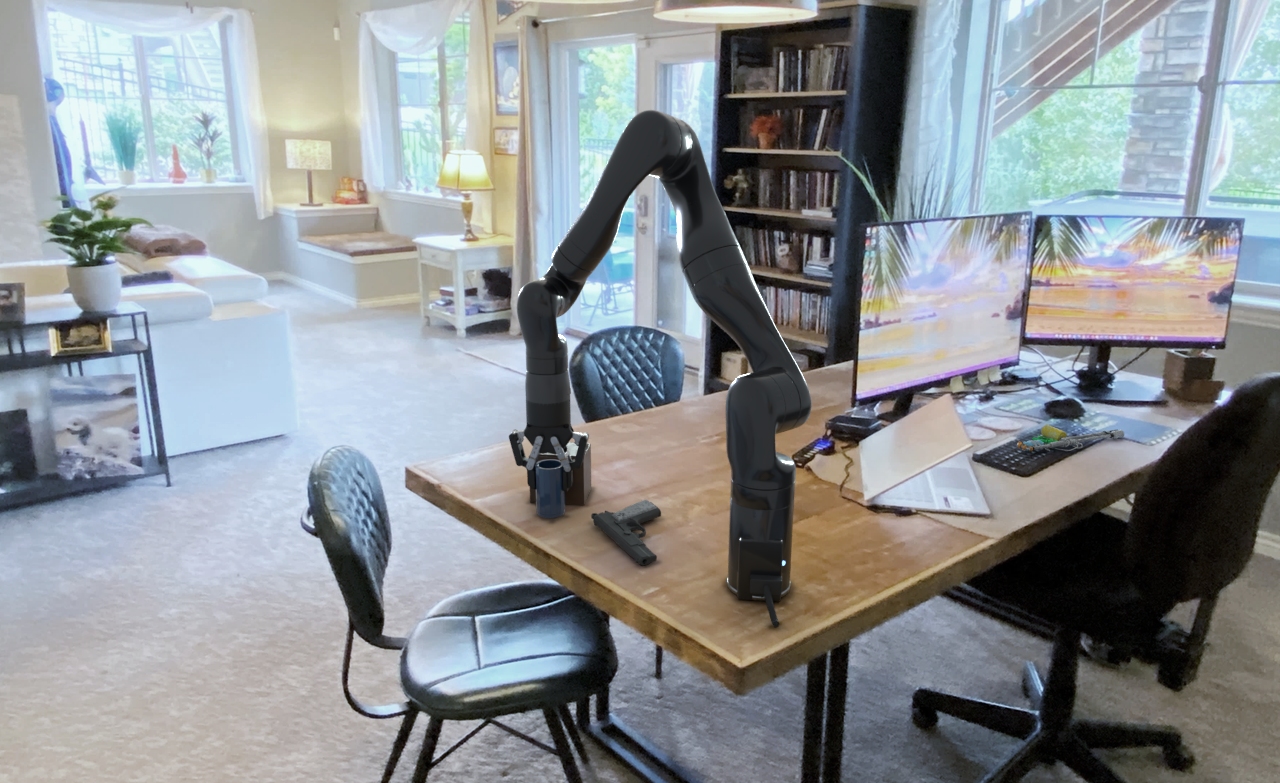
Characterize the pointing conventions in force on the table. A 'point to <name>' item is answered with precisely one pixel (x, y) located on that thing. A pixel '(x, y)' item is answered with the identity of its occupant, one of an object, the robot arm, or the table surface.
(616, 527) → the handgun
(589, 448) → the dark brown box
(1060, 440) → the flamethrower
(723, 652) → the table surface
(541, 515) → the pen cup
